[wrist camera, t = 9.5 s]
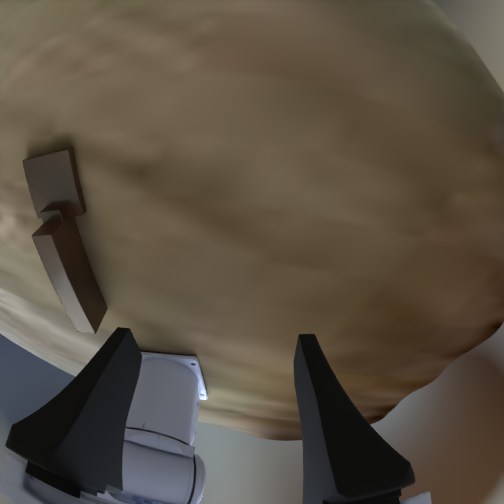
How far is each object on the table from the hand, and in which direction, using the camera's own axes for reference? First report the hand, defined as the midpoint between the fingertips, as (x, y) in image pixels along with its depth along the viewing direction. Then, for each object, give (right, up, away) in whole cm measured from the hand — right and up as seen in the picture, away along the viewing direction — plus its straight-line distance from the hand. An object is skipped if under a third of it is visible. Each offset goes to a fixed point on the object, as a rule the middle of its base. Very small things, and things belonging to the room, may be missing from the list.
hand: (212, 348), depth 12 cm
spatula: (-13, +5, +8) cm, 16 cm away
